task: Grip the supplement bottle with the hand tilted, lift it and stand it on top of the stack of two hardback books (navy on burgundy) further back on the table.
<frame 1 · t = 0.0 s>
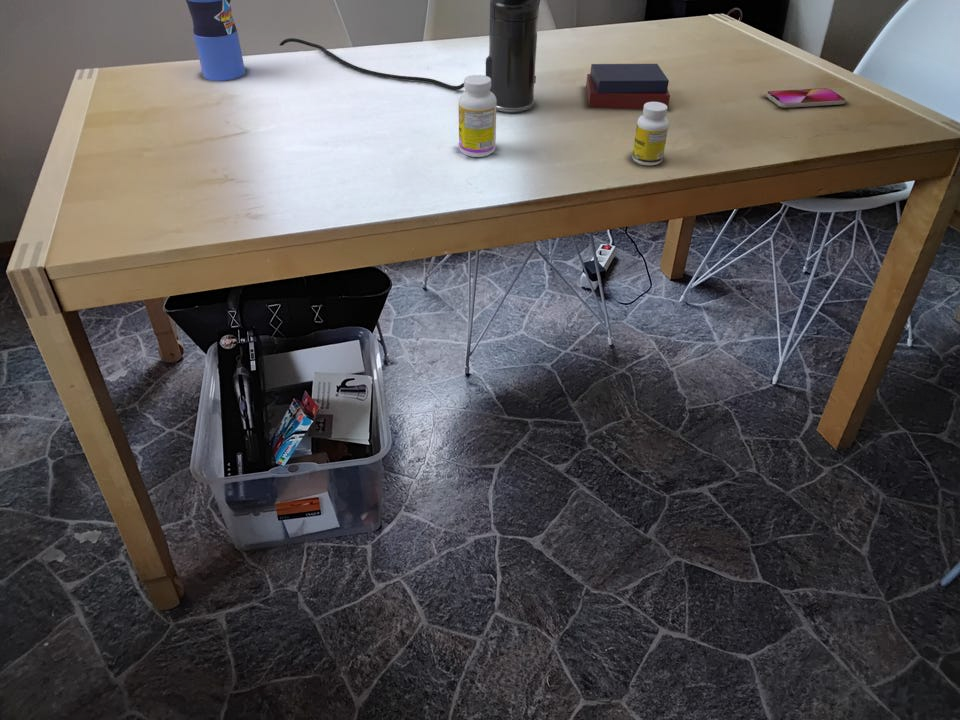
book stack: (625, 98, 152), on the table
supplement bottle 2: (477, 151, 132), on the table
smartphone: (804, 101, 152), on the table
water bottle: (224, 74, 161), on the table
supplement bottle: (646, 160, 130), on the table
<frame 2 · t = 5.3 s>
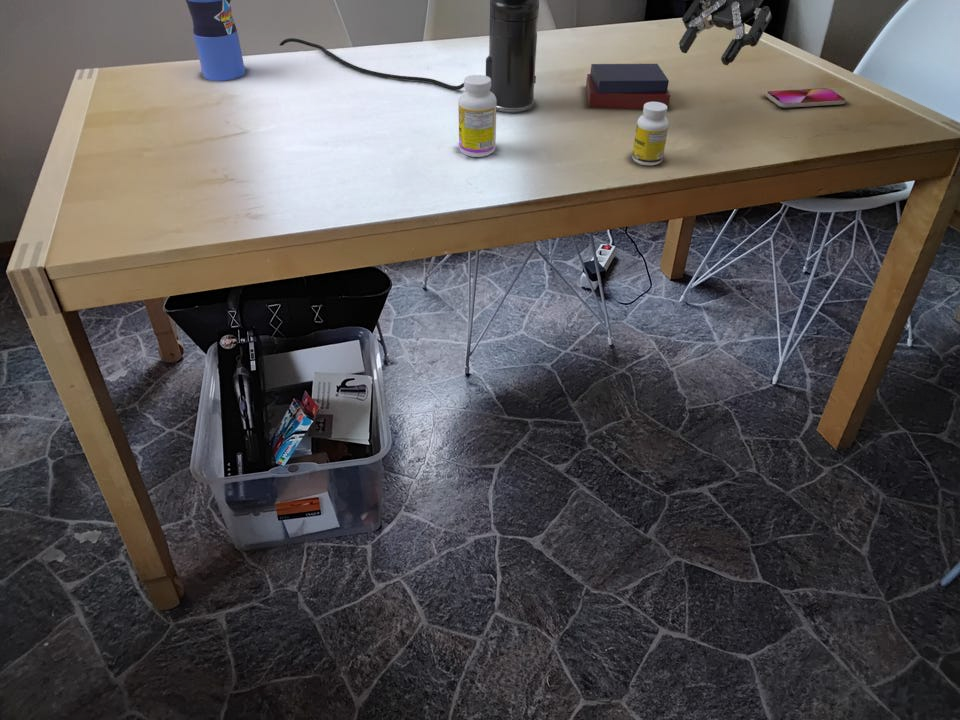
hand: (702, 56, 126), 15 cm above the table, tool tilted 45°, fingers open, 8 cm apart
nothing on the table moved.
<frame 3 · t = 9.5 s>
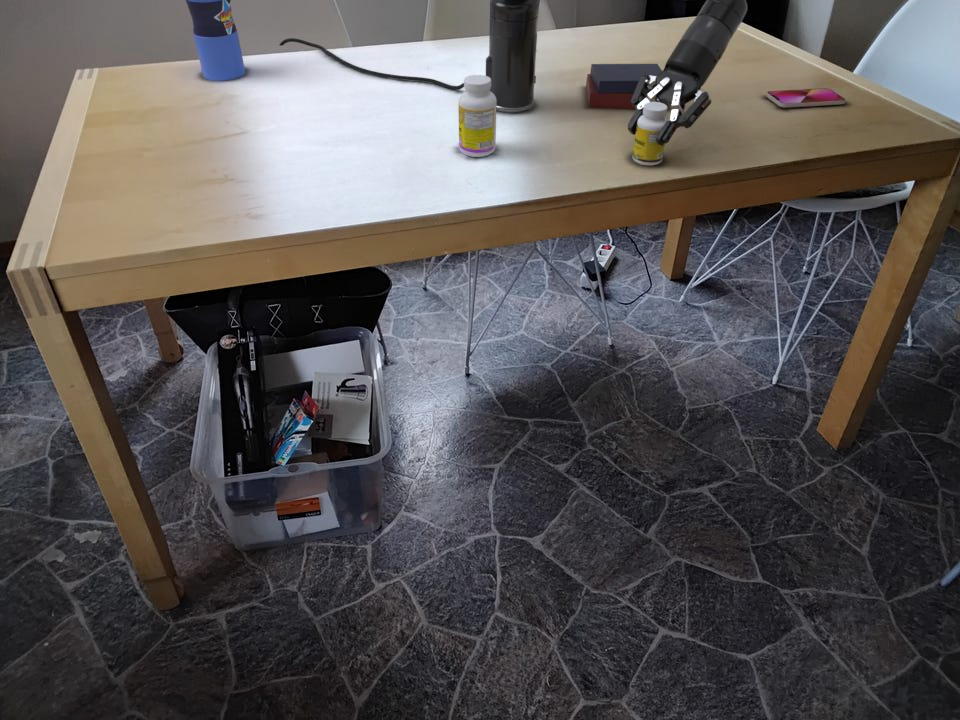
hand: (645, 137, 126), 5 cm above the table, tool tilted 45°, fingers closed on supplement bottle, 5 cm apart
supplement bottle: (646, 160, 130), on the table, touching gripper
everything else where it was.
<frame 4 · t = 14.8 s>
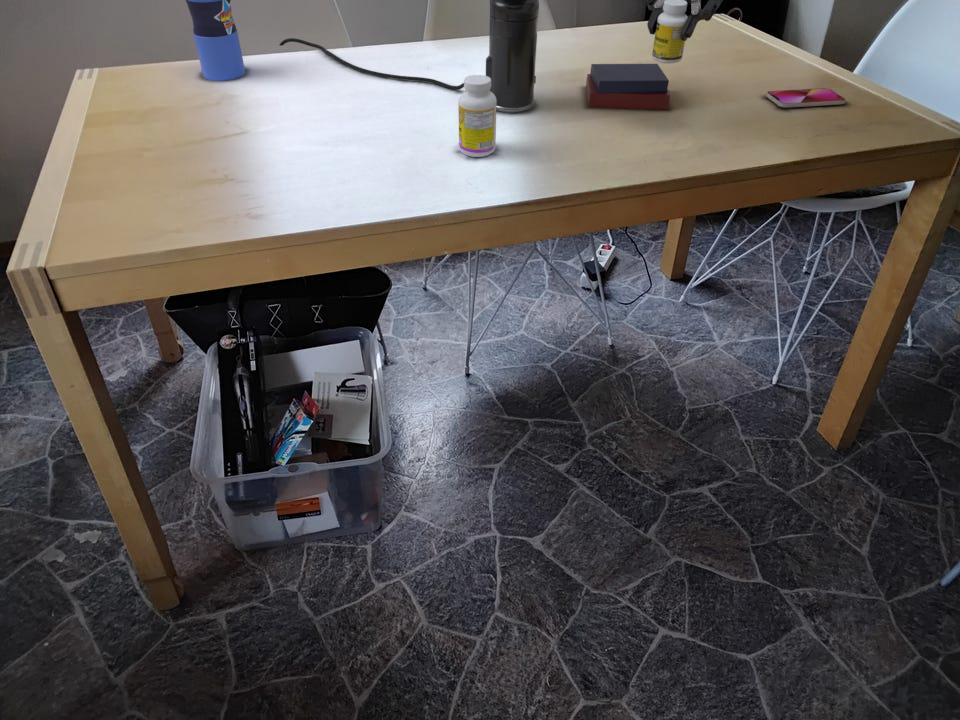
hand: (667, 34, 129), 17 cm above the table, tool tilted 45°, fingers closed on supplement bottle, 5 cm apart
supplement bottle: (666, 60, 133), point 13 cm above the table, touching gripper
everything else where it was.
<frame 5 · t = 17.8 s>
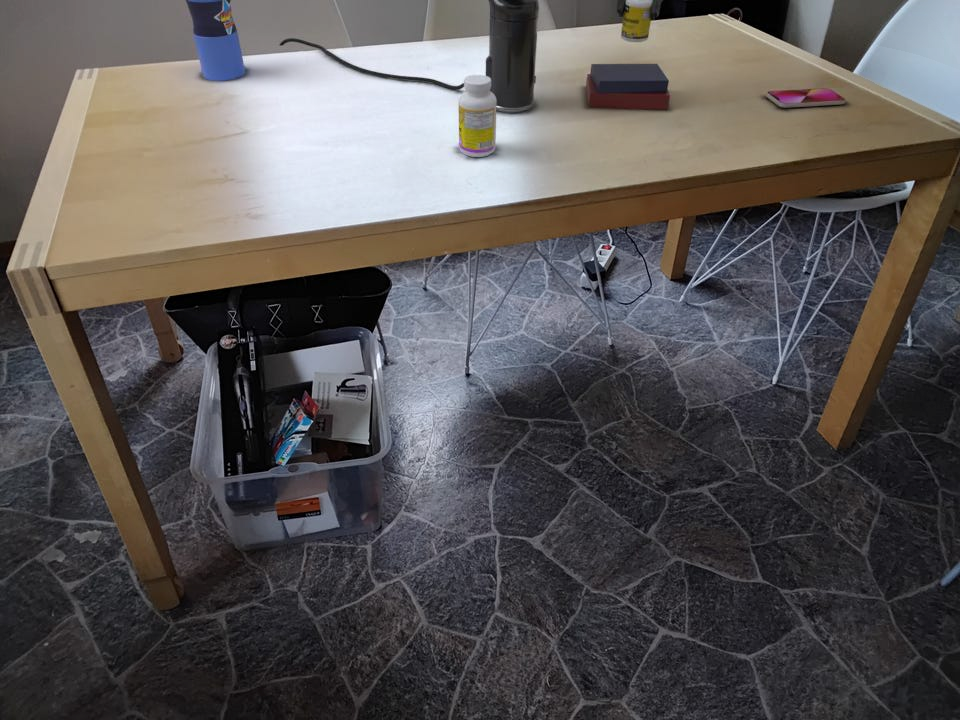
hand: (636, 15, 140), 17 cm above the table, tool tilted 45°, fingers closed on supplement bottle, 5 cm apart
supplement bottle: (634, 39, 144), point 12 cm above the table, touching gripper
everything else where it was.
when the fingers open (10 cm above the table, at t = 20.1 s): supplement bottle stays where it is, resting on book stack.
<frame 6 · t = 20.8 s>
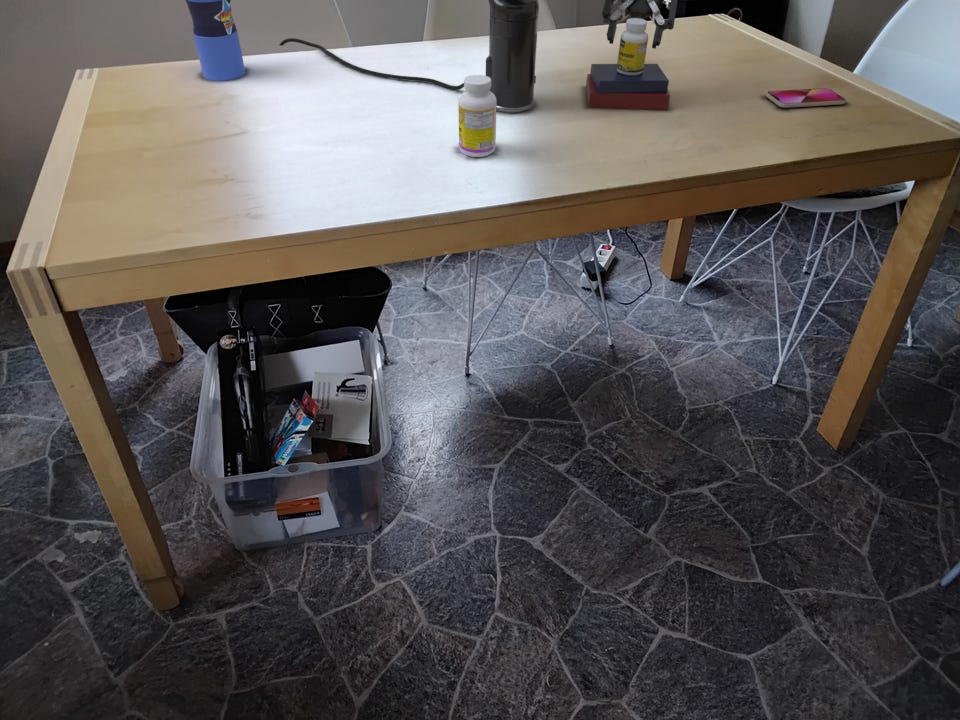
hand: (632, 44, 144), 11 cm above the table, tool tilted 45°, fingers open, 8 cm apart
supplement bottle: (629, 72, 149), point 5 cm above the table, touching book stack
everything else where it was.
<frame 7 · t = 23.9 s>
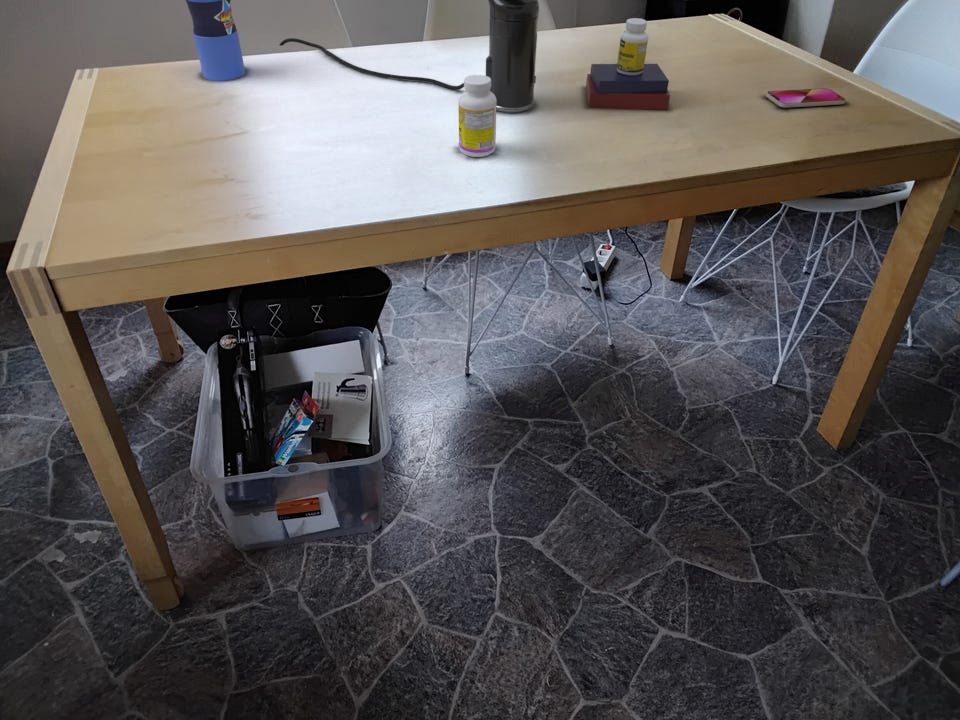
nothing on the table moved.
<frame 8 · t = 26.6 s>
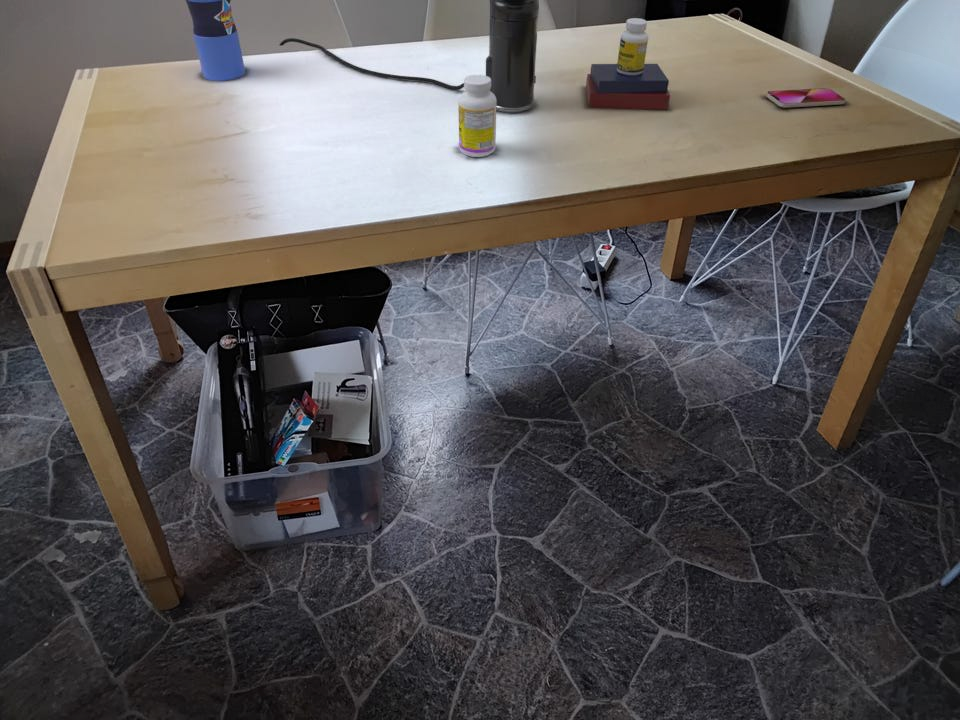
nothing on the table moved.
at the end: supplement bottle inside the target area on the book stack (0.2 cm from its centre), point 5.3 cm above the book stack's base; supplement bottle tilted 0°; the gripper is holding nothing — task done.
